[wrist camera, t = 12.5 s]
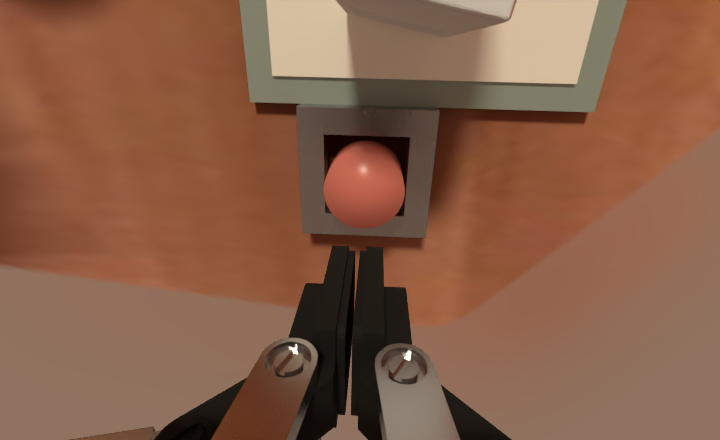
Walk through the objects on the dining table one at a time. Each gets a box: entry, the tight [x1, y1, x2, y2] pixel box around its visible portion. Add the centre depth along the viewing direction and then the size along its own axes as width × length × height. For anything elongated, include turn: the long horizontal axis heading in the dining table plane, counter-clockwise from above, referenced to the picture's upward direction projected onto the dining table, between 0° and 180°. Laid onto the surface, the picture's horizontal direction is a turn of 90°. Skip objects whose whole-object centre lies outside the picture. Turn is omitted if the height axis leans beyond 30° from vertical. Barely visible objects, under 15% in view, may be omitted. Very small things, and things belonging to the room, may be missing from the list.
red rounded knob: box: [324, 140, 405, 228], centre depth 21 cm, size 4×4×3 cm
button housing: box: [296, 104, 440, 238], centre depth 23 cm, size 8×8×2 cm
